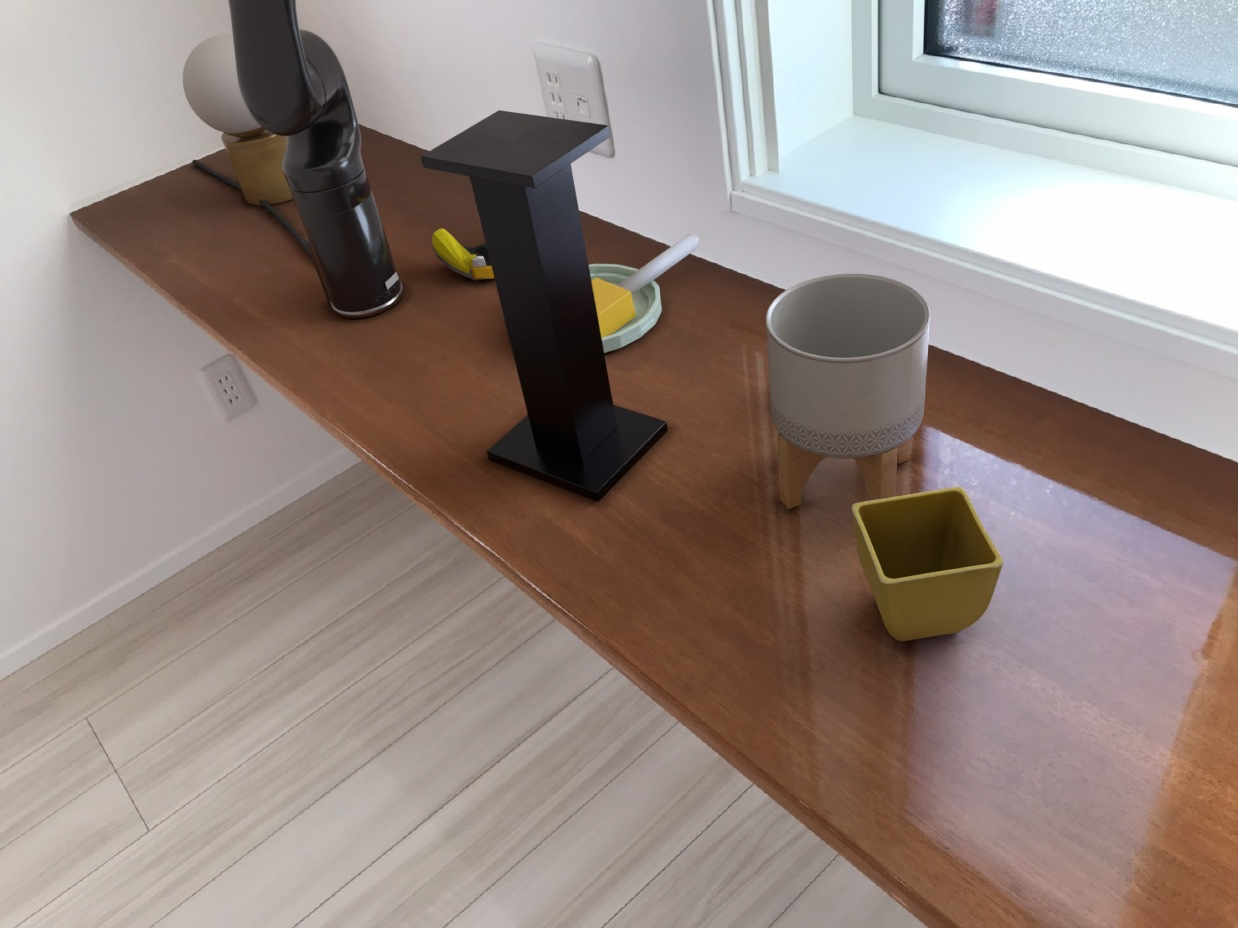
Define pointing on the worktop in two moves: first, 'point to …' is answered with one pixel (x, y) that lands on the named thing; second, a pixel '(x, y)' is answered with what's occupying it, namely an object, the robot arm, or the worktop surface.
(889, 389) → the planter
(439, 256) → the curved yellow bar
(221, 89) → the lamp
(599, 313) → the sponge wand
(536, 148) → the stand
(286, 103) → the robot arm
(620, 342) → the plate
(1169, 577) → the worktop surface
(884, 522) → the flower pot
